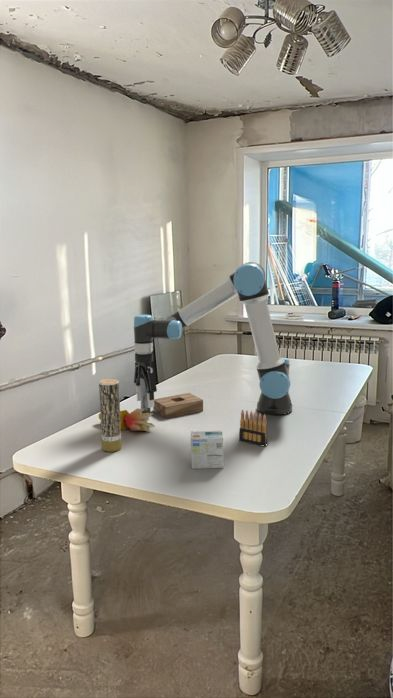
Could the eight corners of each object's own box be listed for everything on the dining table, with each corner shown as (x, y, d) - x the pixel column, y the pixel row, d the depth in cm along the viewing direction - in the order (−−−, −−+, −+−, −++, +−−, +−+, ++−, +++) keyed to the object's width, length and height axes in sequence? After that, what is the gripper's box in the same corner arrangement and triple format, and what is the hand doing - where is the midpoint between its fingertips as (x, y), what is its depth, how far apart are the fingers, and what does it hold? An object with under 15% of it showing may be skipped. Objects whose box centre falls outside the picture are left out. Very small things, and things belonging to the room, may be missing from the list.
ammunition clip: (238, 440, 194) (239, 409, 191) (241, 439, 195) (241, 408, 193) (265, 446, 188) (266, 414, 186) (267, 445, 190) (268, 413, 187)
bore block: (203, 410, 227) (203, 399, 226) (166, 418, 218) (165, 406, 217) (189, 403, 237) (189, 392, 236) (153, 410, 228) (153, 399, 227)
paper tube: (112, 443, 192) (109, 377, 187) (125, 448, 188) (122, 380, 183) (98, 449, 187) (94, 381, 182) (111, 454, 183) (107, 385, 178)
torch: (103, 431, 215) (155, 433, 203) (91, 428, 208) (144, 430, 197) (106, 411, 217) (158, 412, 206) (94, 407, 210) (147, 408, 199)
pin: (152, 414, 222) (151, 378, 219) (143, 416, 220) (142, 379, 217) (148, 412, 226) (147, 376, 222) (139, 413, 224) (138, 377, 220)
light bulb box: (222, 460, 177) (222, 429, 175) (224, 468, 171) (224, 437, 169) (190, 460, 177) (190, 430, 175) (191, 469, 171) (190, 438, 168)
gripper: (164, 356, 210) (165, 409, 214) (140, 346, 229) (142, 395, 234) (147, 358, 206) (149, 412, 211) (124, 348, 225) (126, 398, 230)
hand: (145, 403), depth 222 cm, fingers open, 10 cm apart
